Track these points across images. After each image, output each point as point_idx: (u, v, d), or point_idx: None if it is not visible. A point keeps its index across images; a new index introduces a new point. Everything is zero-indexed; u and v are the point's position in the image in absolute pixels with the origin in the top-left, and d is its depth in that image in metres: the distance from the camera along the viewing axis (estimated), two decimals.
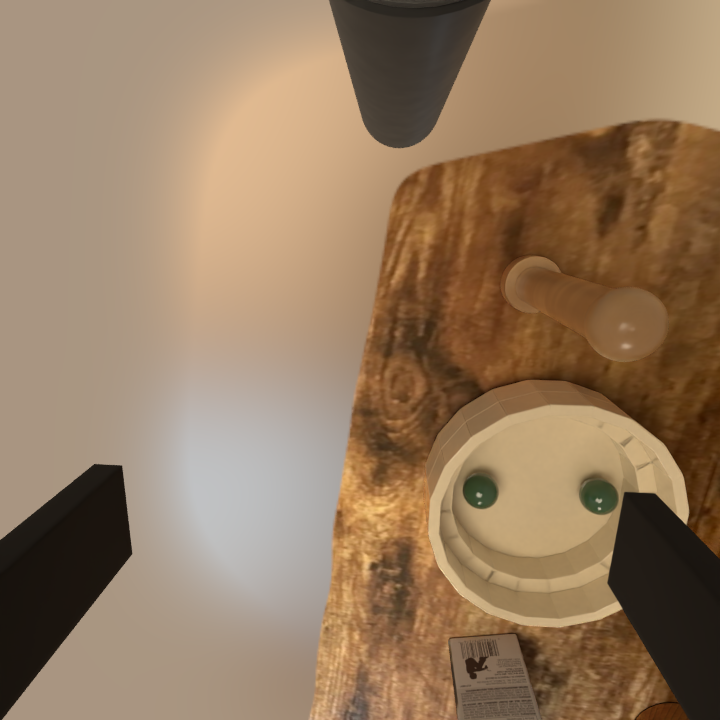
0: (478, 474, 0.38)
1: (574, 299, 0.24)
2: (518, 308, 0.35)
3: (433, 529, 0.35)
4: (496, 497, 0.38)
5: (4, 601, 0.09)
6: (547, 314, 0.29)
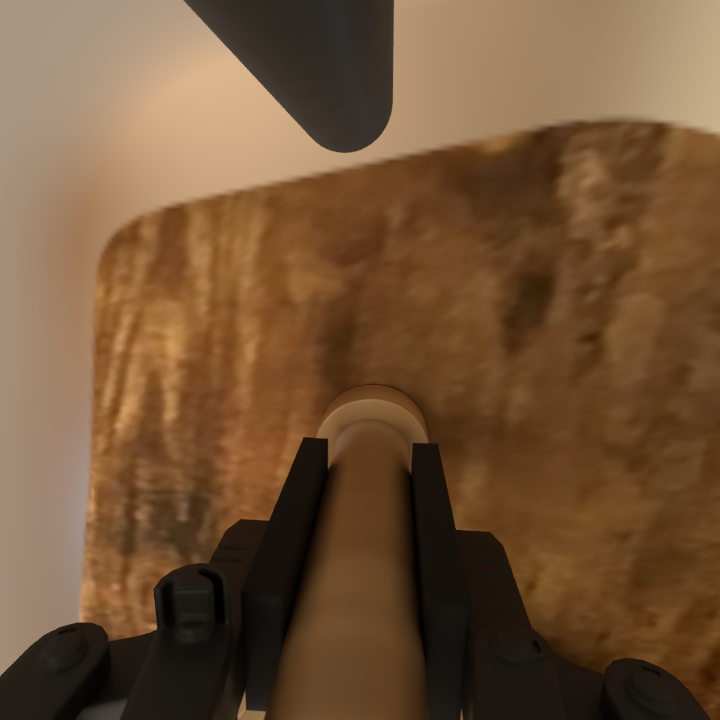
0: None
1: None
2: None
3: None
4: None
5: (304, 540, 0.11)
6: None
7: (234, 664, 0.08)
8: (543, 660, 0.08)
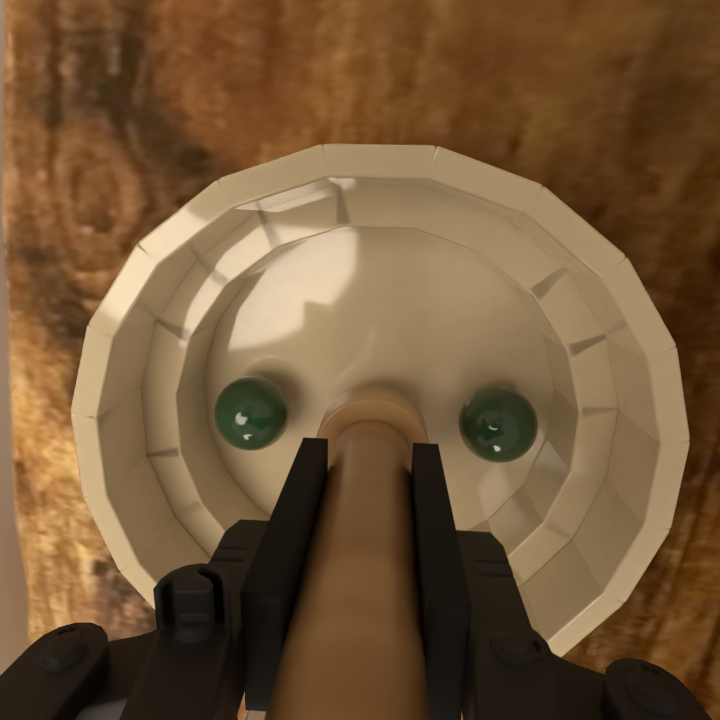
0: (245, 377, 0.18)
1: None
2: None
3: (91, 485, 0.15)
4: (275, 423, 0.17)
5: (304, 541, 0.11)
6: None
7: (233, 664, 0.08)
8: (544, 660, 0.08)
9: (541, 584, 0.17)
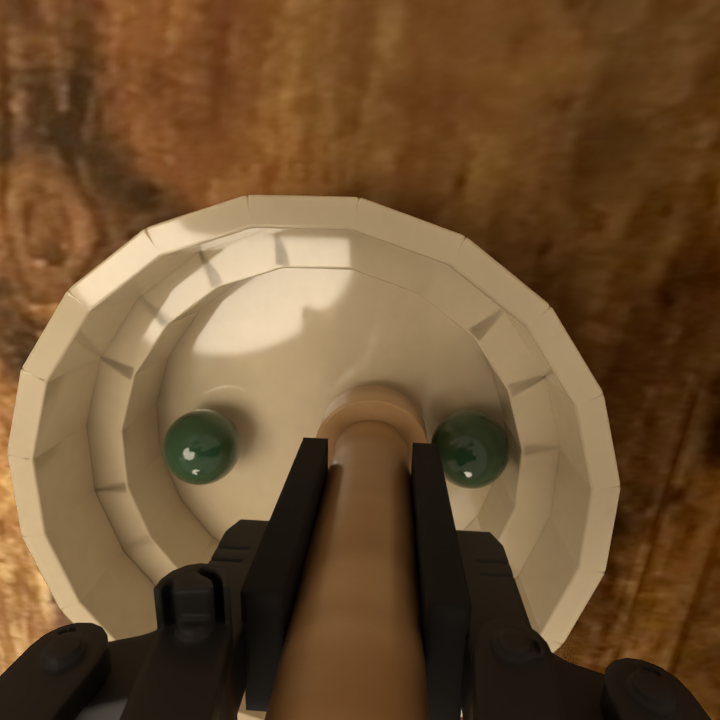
0: (194, 411, 0.18)
1: None
2: None
3: (30, 525, 0.15)
4: (222, 458, 0.18)
5: (304, 541, 0.11)
6: None
7: (234, 664, 0.08)
8: (543, 660, 0.08)
9: None
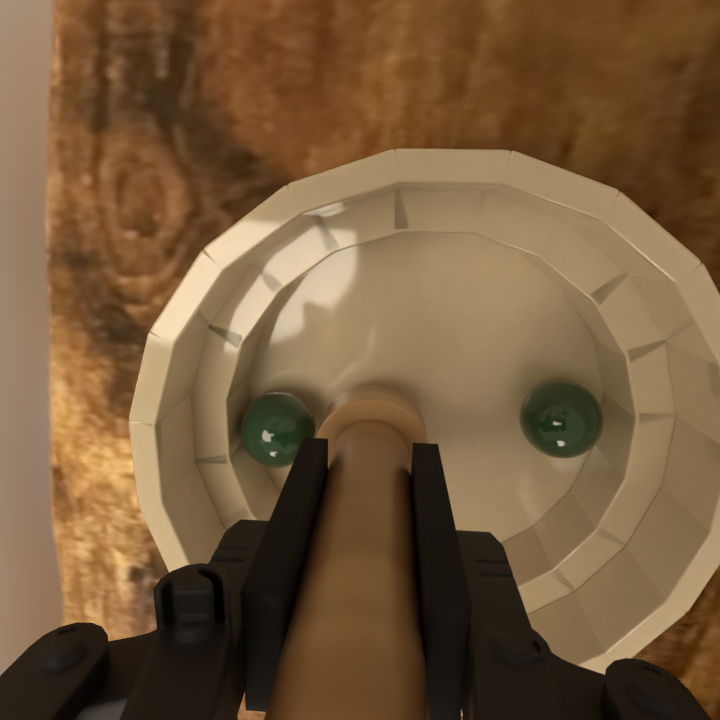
0: (268, 397, 0.18)
1: None
2: None
3: (147, 493, 0.15)
4: (281, 454, 0.17)
5: (304, 540, 0.11)
6: None
7: (233, 664, 0.08)
8: (543, 660, 0.08)
9: (595, 592, 0.17)
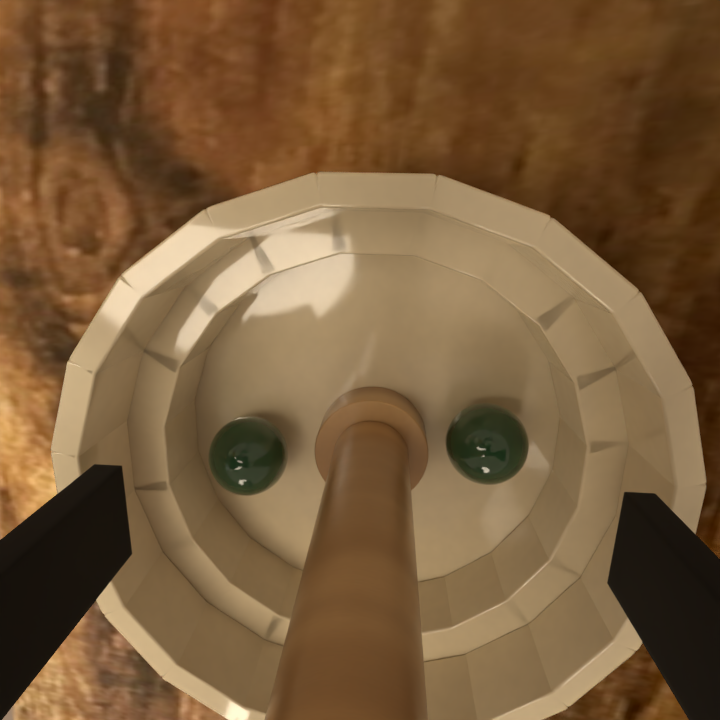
0: (242, 424, 0.17)
1: None
2: None
3: None
4: (274, 476, 0.17)
5: (4, 601, 0.09)
6: None
7: None
8: None
9: (547, 625, 0.17)
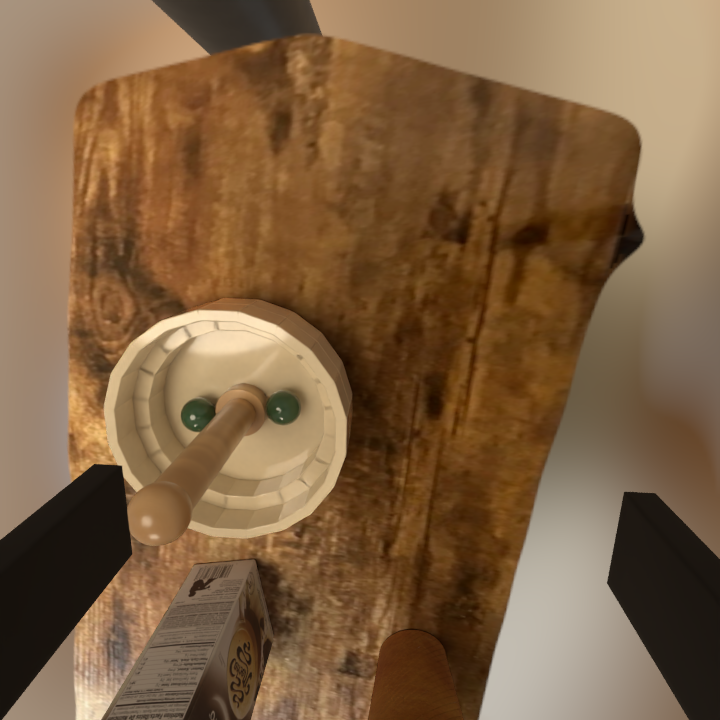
0: (198, 400, 0.39)
1: None
2: None
3: (111, 438, 0.36)
4: None
5: (4, 601, 0.09)
6: None
7: None
8: None
9: (313, 486, 0.38)
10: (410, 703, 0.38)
